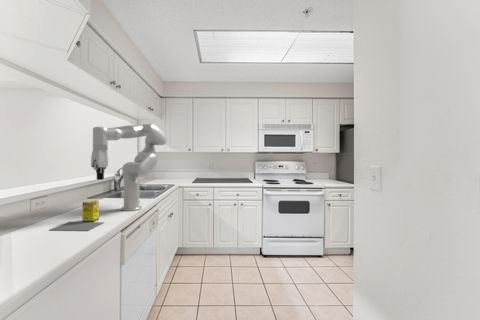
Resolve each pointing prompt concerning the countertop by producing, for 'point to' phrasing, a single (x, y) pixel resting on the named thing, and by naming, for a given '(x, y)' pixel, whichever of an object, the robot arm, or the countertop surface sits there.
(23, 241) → the countertop surface
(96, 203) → the supplement box
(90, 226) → the topple mat
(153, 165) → the robot arm
